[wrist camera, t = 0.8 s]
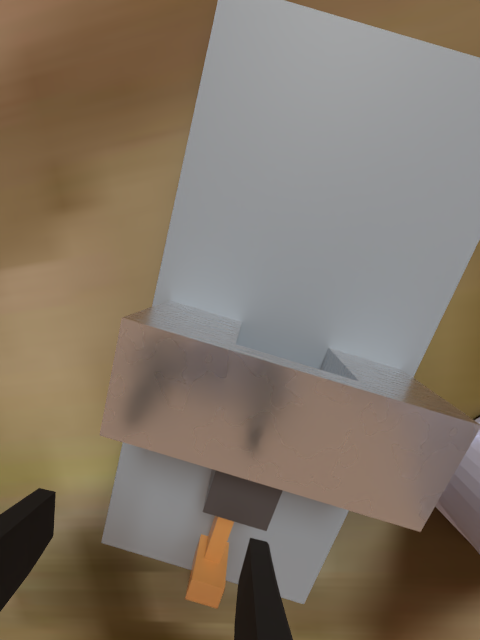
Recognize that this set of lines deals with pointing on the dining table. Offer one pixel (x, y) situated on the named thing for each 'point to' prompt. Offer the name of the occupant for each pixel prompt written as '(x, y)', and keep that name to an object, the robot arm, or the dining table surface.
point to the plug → (226, 530)
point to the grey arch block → (283, 416)
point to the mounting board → (309, 236)
